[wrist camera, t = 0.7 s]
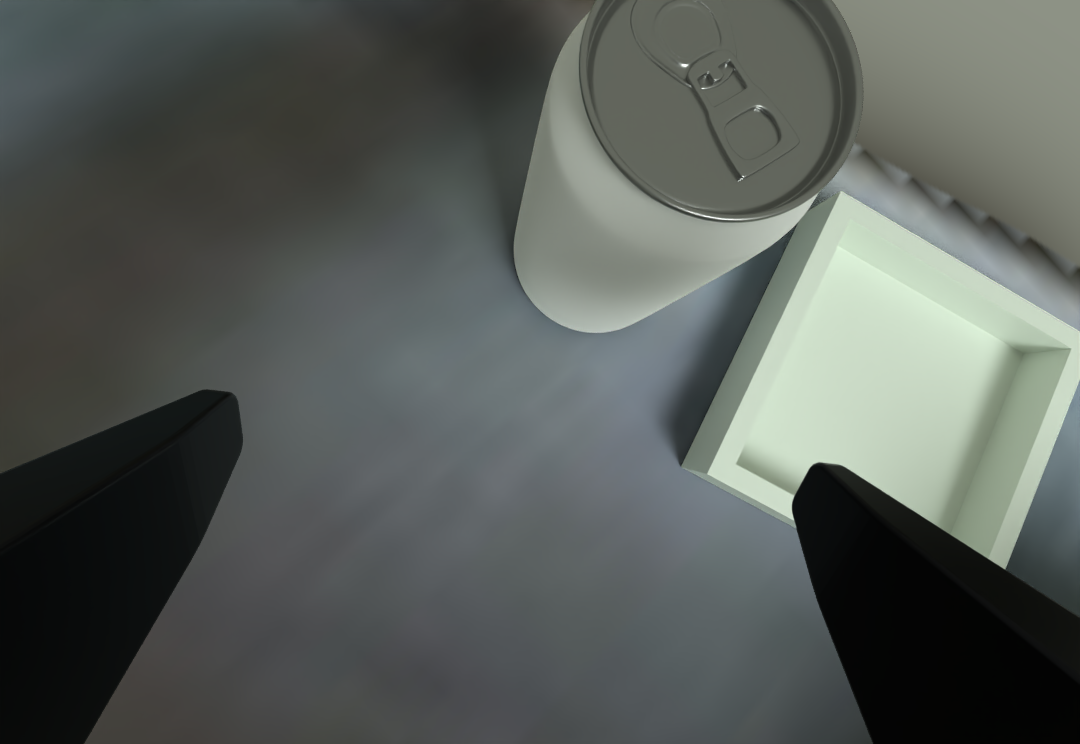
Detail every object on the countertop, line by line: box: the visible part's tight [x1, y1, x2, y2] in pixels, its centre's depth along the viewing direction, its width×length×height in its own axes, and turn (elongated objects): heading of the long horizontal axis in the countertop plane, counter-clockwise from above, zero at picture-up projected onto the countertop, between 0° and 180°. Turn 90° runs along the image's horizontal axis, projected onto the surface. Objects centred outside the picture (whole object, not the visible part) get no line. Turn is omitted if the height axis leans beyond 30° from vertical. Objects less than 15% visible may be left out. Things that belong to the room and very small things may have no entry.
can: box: [514, 0, 863, 333], centre depth 16 cm, size 6×6×12 cm
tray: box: [681, 191, 1080, 569], centre depth 22 cm, size 12×12×2 cm
